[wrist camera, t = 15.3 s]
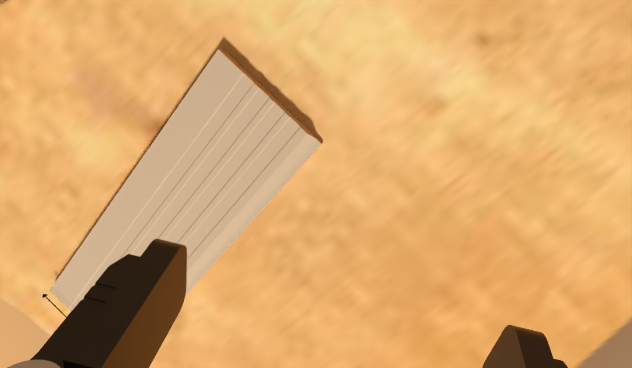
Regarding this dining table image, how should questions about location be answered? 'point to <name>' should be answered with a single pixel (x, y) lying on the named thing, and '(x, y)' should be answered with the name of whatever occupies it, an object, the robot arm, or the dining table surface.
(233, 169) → the baseboard
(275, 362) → the dining table surface
